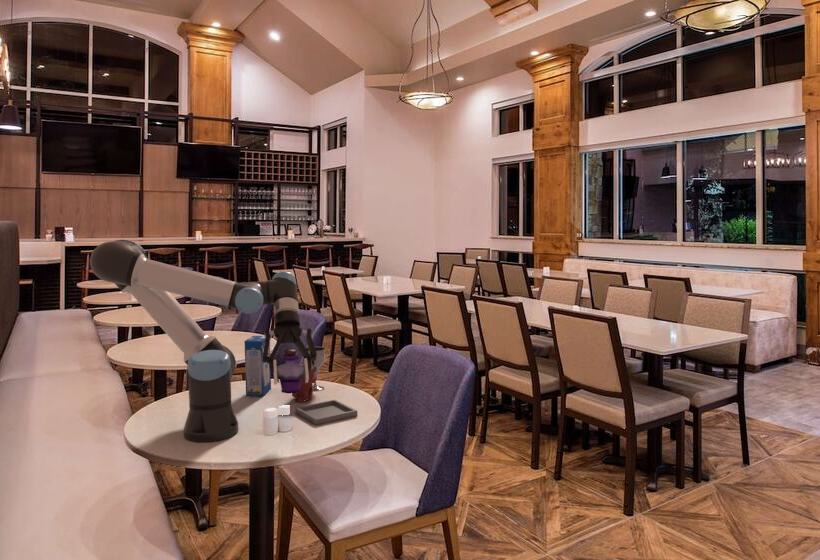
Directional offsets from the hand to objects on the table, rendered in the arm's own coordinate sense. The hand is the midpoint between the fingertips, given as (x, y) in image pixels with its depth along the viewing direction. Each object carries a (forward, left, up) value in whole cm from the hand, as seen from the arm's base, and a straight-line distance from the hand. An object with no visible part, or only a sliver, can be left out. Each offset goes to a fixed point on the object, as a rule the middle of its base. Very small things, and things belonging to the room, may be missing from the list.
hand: (291, 381), depth 167 cm
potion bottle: (+1, +3, -4) cm, 5 cm away
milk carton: (+10, +49, -17) cm, 53 cm away
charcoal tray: (+18, +13, -17) cm, 28 cm away
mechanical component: (+19, +32, -17) cm, 41 cm away
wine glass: (+29, +42, -17) cm, 54 cm away
